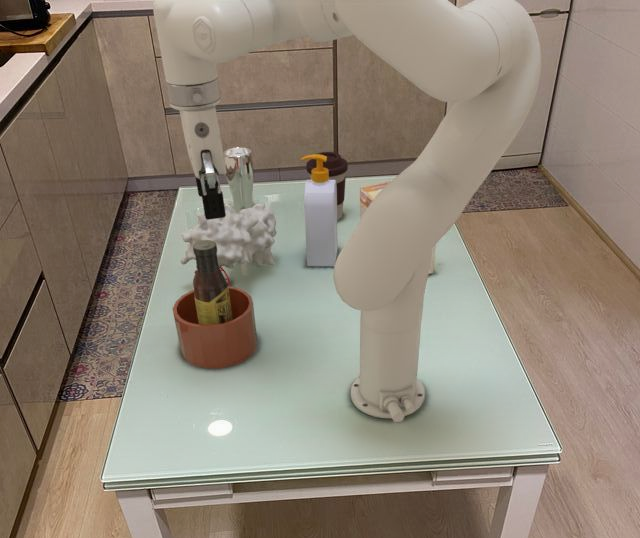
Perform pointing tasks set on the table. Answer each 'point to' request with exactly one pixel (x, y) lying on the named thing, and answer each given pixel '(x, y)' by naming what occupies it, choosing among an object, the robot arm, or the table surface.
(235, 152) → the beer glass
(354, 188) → the table surface
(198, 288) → the sauce bottle
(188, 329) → the crock
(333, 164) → the coffee cup
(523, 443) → the table surface
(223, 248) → the lumpy white molecule
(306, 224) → the soap bottle
